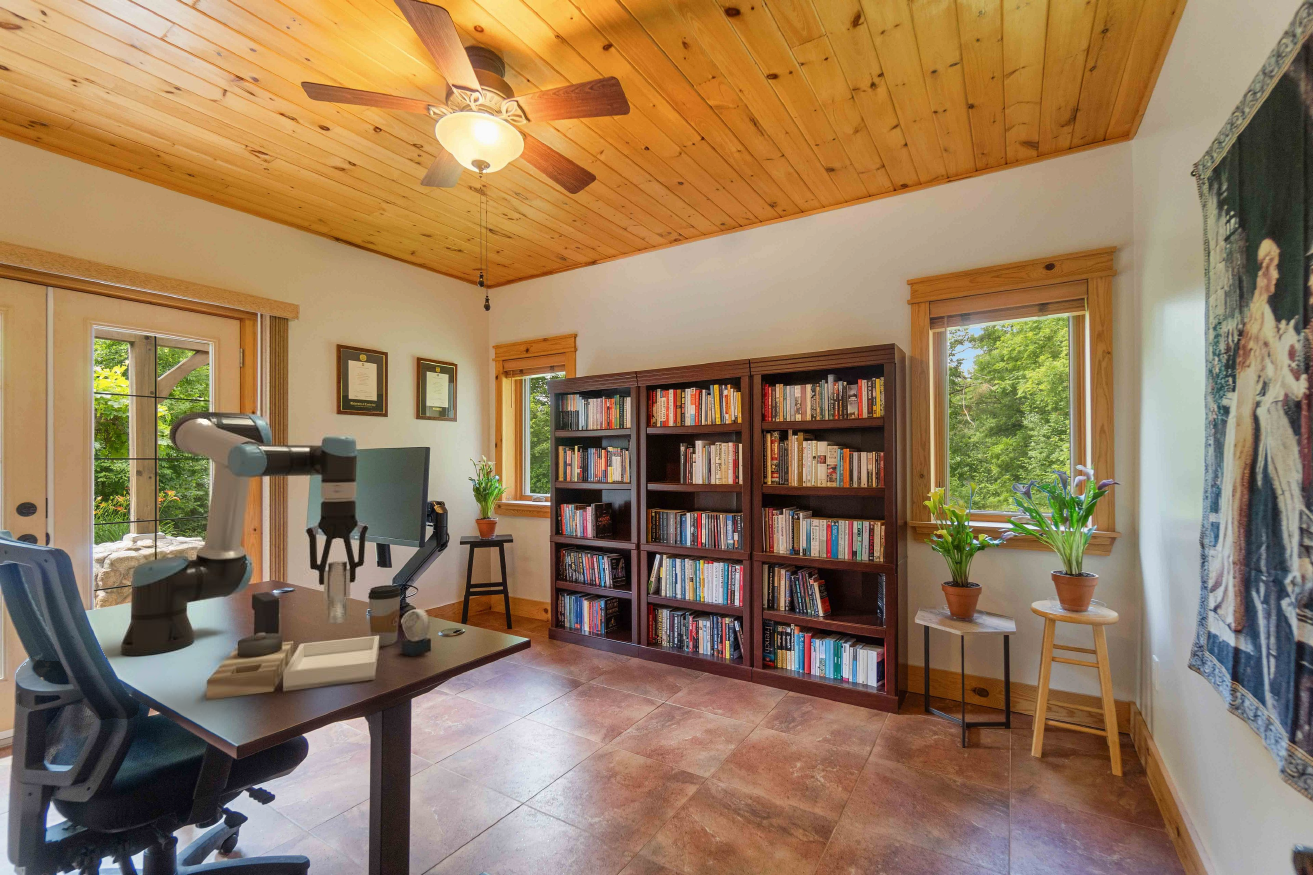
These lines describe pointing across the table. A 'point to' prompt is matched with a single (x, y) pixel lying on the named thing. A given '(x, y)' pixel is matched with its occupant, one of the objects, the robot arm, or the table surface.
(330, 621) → the lock pin
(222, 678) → the tensioner plate
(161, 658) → the table surface
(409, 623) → the watch
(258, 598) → the black upright block
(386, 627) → the coffee cup
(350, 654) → the tray
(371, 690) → the table surface
